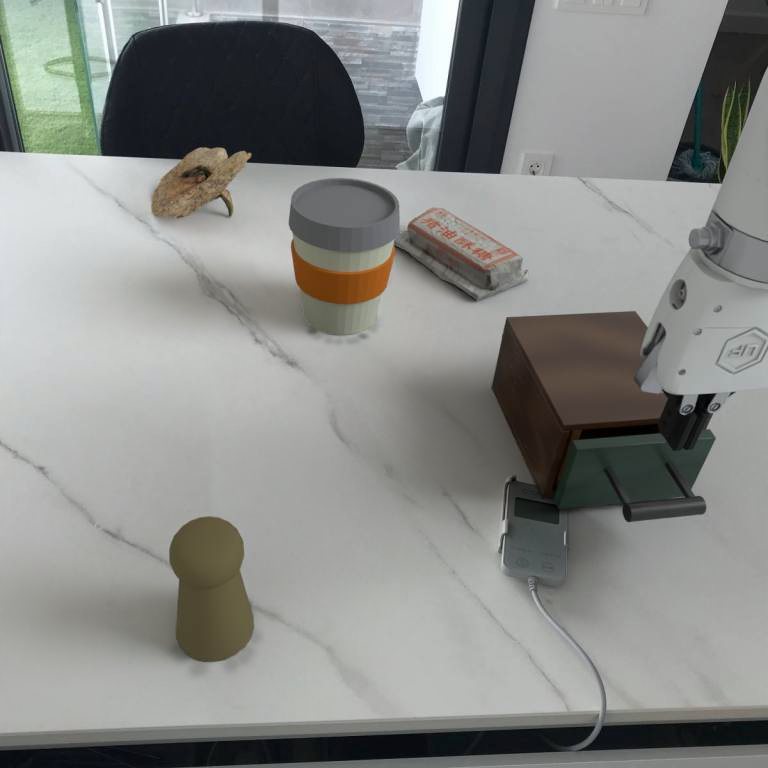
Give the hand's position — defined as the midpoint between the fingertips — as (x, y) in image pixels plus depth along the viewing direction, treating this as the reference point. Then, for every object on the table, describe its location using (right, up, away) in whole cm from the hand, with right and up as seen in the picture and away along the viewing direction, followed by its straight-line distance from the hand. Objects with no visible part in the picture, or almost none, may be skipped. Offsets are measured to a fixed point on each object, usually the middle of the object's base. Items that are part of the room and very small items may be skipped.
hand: (674, 438), depth 64 cm
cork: (-37, -15, -3) cm, 40 cm away
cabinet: (-3, -1, +18) cm, 18 cm away
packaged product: (-14, +21, +43) cm, 50 cm away
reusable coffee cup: (-29, +13, +31) cm, 45 cm away
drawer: (-2, -4, +13) cm, 13 cm away
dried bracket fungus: (-51, +30, +50) cm, 78 cm away
